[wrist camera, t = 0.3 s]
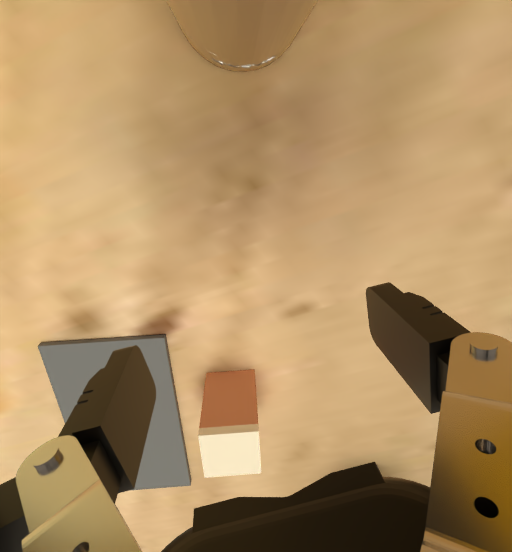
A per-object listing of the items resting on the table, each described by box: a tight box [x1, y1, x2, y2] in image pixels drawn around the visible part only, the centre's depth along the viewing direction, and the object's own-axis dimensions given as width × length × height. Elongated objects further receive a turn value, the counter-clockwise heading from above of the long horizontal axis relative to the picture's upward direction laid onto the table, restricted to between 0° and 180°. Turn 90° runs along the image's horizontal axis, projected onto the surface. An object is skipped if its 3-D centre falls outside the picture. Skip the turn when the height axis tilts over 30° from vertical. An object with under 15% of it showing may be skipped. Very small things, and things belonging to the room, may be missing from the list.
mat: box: [38, 334, 191, 490], centre depth 37 cm, size 21×12×1 cm, turn 3°
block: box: [198, 370, 261, 478], centre depth 32 cm, size 5×5×8 cm
